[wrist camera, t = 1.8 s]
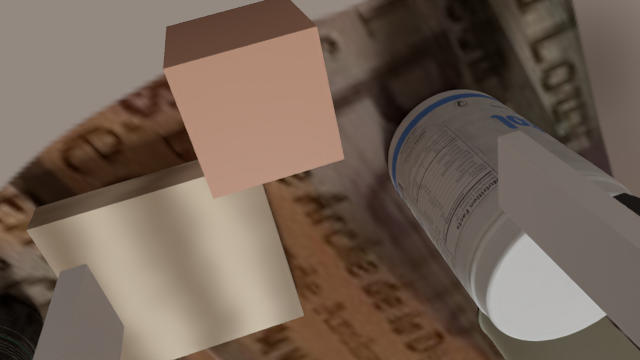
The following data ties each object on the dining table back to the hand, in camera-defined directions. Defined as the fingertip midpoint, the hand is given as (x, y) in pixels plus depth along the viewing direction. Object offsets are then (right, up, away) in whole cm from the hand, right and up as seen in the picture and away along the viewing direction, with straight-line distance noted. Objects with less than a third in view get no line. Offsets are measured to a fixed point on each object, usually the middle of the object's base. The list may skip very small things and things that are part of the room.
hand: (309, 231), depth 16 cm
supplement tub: (+9, +4, +21) cm, 24 cm away
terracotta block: (-4, +8, +15) cm, 18 cm away
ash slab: (-10, -4, +21) cm, 23 cm away
